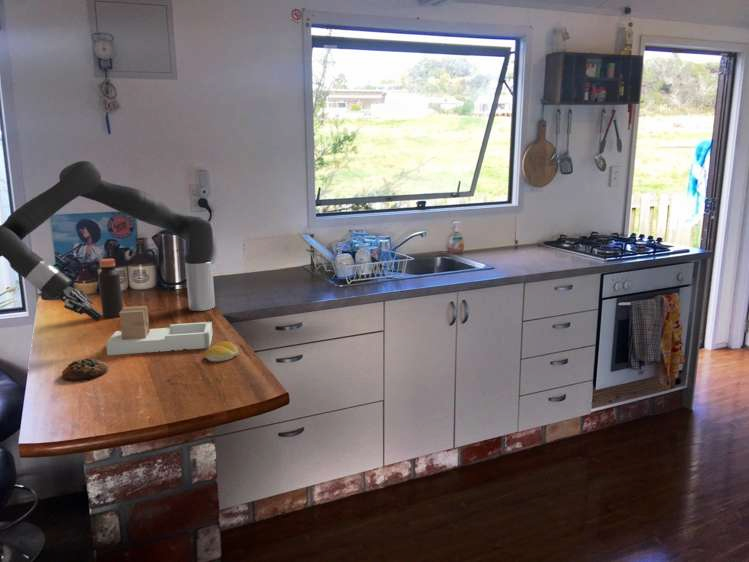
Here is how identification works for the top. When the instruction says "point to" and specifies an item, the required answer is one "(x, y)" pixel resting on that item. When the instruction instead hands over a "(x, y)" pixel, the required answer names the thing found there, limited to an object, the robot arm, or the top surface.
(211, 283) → the robot arm
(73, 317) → the top surface
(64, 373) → the bread roll
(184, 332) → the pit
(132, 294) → the top surface
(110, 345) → the ledge
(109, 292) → the bottle
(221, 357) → the bread roll
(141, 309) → the block
